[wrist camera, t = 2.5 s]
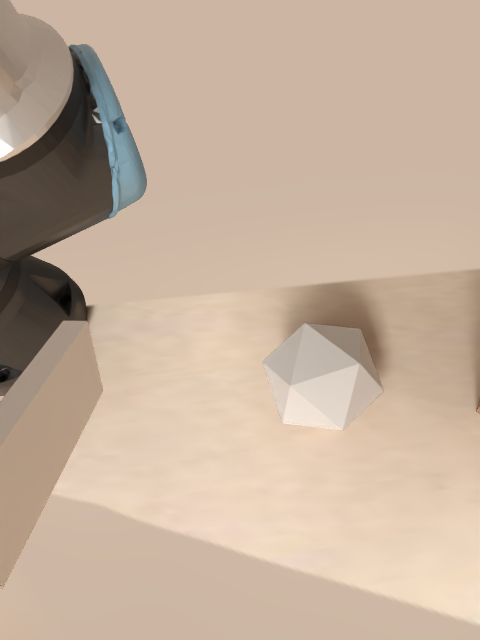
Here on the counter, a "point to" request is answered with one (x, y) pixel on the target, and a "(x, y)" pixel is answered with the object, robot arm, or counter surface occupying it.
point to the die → (322, 376)
